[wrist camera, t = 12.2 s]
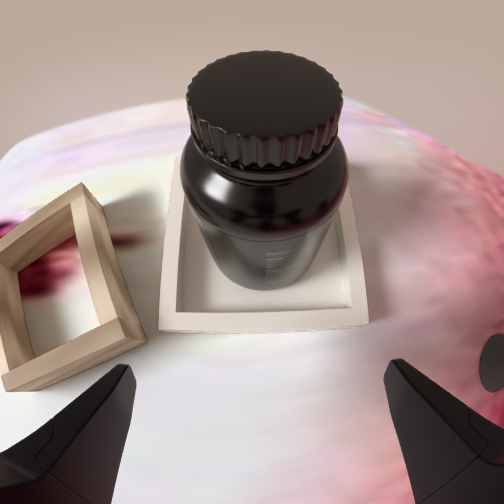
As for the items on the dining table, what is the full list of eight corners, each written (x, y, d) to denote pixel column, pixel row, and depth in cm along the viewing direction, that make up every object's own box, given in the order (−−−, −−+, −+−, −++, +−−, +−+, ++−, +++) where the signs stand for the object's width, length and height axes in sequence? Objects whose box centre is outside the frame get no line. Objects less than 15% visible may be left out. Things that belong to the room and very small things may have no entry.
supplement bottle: (316, 200, 20) (362, 50, 8) (312, 298, 17) (401, 192, 6) (218, 191, 20) (187, 38, 9) (201, 286, 18) (118, 167, 6)
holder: (147, 341, 17) (125, 337, 14) (35, 391, 15) (5, 391, 12) (102, 205, 21) (81, 182, 17) (8, 266, 19) (-17, 253, 16)
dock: (357, 327, 17) (369, 323, 15) (168, 332, 17) (158, 329, 15) (335, 169, 21) (341, 154, 19) (181, 172, 21) (175, 156, 20)
